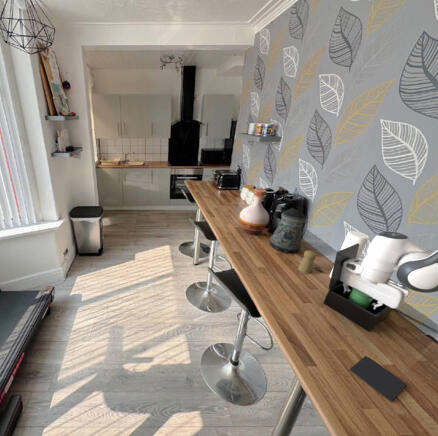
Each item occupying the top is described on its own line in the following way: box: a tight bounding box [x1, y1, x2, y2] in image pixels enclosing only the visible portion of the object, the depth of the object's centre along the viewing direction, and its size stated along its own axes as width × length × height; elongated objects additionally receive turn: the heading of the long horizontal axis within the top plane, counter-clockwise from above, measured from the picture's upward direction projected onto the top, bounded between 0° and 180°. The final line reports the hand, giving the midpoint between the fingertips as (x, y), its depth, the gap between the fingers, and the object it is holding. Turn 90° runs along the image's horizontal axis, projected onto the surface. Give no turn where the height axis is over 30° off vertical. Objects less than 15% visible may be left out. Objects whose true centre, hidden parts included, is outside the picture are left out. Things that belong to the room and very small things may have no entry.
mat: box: [349, 355, 407, 403], centre depth 71 cm, size 10×10×1 cm
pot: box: [348, 287, 373, 310], centre depth 93 cm, size 7×7×10 cm
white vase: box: [239, 187, 270, 236], centre depth 154 cm, size 20×18×30 cm
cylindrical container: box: [329, 230, 370, 279], centre depth 109 cm, size 7×7×25 cm
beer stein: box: [269, 206, 307, 255], centre depth 138 cm, size 16×19×25 cm
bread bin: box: [323, 283, 393, 332], centre depth 94 cm, size 16×16×8 cm
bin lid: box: [328, 244, 360, 290], centre depth 96 cm, size 16×16×1 cm
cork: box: [297, 249, 318, 274], centre depth 118 cm, size 6×6×11 cm
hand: (359, 300), depth 93 cm, fingers open, 8 cm apart
